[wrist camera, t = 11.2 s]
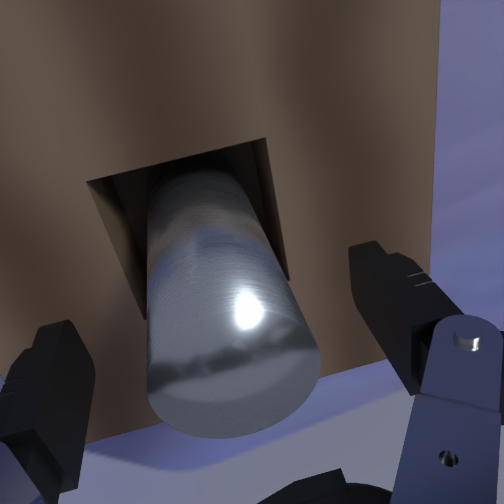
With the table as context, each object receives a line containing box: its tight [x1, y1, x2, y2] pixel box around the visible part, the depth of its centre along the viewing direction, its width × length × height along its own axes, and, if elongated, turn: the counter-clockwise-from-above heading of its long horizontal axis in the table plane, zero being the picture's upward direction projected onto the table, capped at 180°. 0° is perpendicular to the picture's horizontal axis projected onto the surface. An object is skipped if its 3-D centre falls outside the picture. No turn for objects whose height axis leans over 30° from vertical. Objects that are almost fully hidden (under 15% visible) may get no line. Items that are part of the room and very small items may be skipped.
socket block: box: [0, 0, 441, 444], centre depth 18 cm, size 18×18×5 cm
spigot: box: [146, 150, 321, 439], centre depth 15 cm, size 4×4×11 cm
